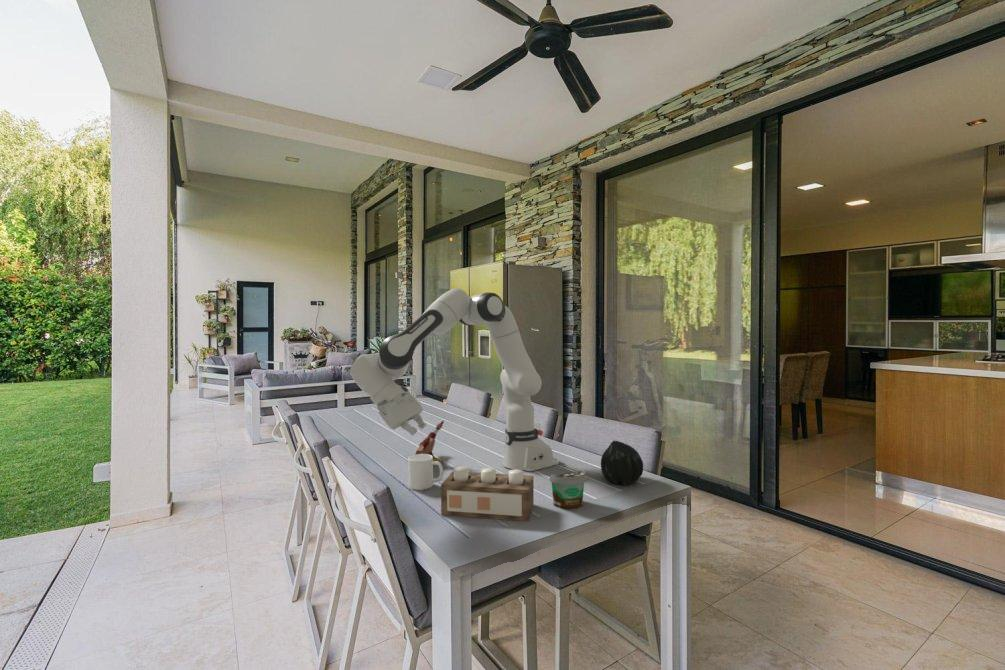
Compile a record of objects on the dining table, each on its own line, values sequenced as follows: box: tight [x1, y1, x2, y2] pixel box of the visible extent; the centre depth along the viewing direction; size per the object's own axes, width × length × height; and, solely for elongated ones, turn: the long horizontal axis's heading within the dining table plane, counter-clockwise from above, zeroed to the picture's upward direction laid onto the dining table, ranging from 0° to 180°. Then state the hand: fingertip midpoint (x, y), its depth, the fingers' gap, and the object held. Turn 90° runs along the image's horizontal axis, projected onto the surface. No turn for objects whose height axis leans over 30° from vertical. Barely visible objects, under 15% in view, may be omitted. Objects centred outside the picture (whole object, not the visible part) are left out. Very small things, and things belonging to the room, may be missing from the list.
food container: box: [548, 468, 587, 510], centre depth 141 cm, size 12×6×10 cm, turn 114°
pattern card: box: [447, 490, 522, 516], centre depth 133 cm, size 22×1×6 cm, turn 80°
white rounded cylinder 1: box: [480, 467, 497, 484], centre depth 139 cm, size 4×4×5 cm
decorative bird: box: [414, 420, 445, 464], centre depth 184 cm, size 28×18×15 cm, turn 179°
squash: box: [600, 440, 644, 486], centre depth 163 cm, size 14×15×15 cm
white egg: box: [453, 466, 469, 482], centre depth 141 cm, size 4×4×5 cm
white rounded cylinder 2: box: [508, 469, 525, 485], centre depth 137 cm, size 4×4×5 cm
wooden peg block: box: [440, 470, 535, 522], centre depth 139 cm, size 26×12×9 cm, turn 80°
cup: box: [407, 453, 444, 491], centre depth 159 cm, size 8×12×10 cm
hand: (419, 430), depth 142 cm, fingers open, 6 cm apart
